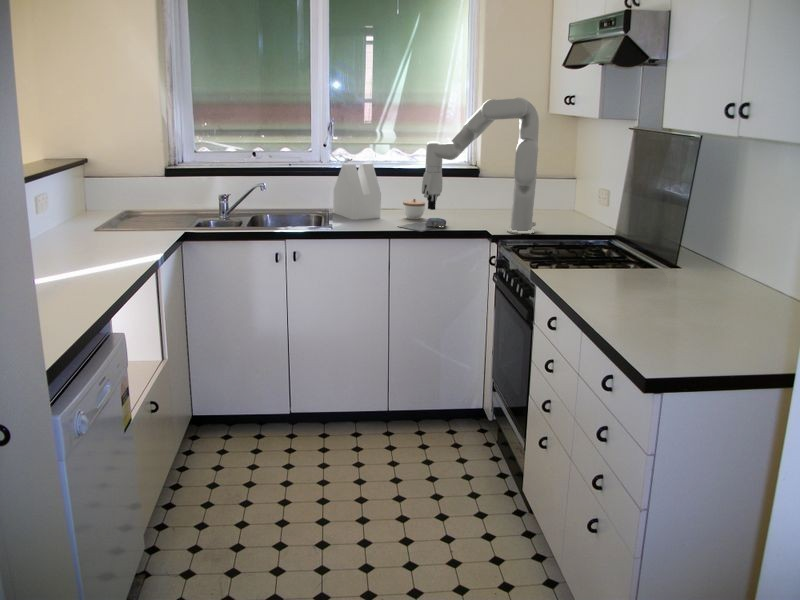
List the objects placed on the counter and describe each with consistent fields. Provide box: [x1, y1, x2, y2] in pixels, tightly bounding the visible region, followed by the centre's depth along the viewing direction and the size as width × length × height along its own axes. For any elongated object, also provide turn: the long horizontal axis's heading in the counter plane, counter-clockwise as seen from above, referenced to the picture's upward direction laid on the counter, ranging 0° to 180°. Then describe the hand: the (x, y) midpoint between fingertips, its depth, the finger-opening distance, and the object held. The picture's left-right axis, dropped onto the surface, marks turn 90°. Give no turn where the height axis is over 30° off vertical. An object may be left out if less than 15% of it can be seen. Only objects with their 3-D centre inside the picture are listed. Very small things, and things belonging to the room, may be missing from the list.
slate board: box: [397, 221, 441, 233], centre depth 374 cm, size 17×14×1 cm
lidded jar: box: [402, 198, 426, 220], centre depth 394 cm, size 11×11×9 cm
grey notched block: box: [332, 162, 382, 221], centre depth 393 cm, size 19×15×25 cm
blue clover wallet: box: [425, 217, 447, 229], centre depth 375 cm, size 9×3×11 cm
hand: (431, 209), depth 377 cm, fingers closed
